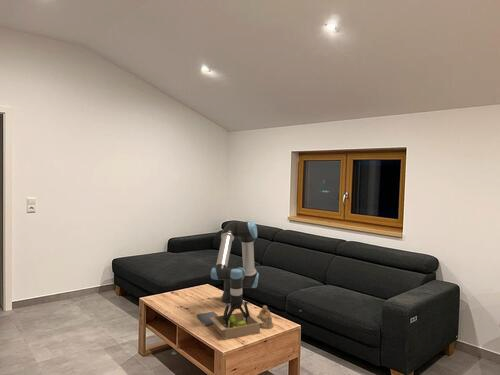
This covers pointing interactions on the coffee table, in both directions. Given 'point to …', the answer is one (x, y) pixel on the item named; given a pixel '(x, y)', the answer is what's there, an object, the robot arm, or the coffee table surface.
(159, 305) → the coffee table surface
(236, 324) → the dumbbell
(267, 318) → the statue
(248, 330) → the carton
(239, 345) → the coffee table surface
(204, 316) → the mat
